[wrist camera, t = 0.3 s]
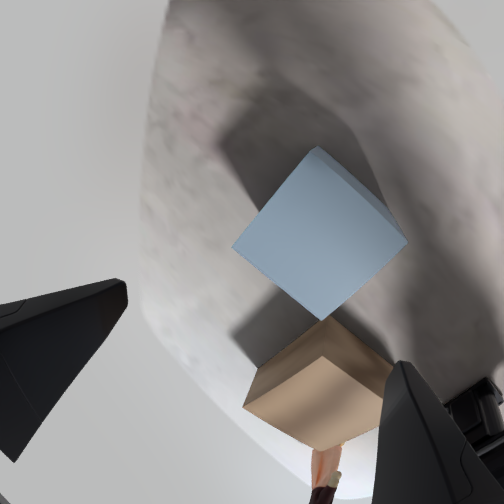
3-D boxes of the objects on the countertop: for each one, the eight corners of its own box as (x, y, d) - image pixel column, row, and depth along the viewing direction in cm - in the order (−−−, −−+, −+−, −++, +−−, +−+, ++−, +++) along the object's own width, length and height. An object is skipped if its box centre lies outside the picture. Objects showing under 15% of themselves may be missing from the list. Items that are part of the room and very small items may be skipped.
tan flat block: (398, 369, 22) (403, 413, 17) (326, 411, 26) (320, 451, 22) (327, 311, 22) (322, 355, 17) (258, 366, 26) (242, 407, 21)
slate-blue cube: (388, 208, 17) (408, 242, 12) (327, 270, 20) (321, 321, 15) (318, 145, 17) (309, 150, 12) (261, 214, 20) (231, 247, 15)
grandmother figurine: (316, 429, 27) (292, 531, 16) (350, 431, 26) (335, 534, 15) (311, 458, 30) (289, 542, 19) (340, 460, 29) (324, 545, 18)
